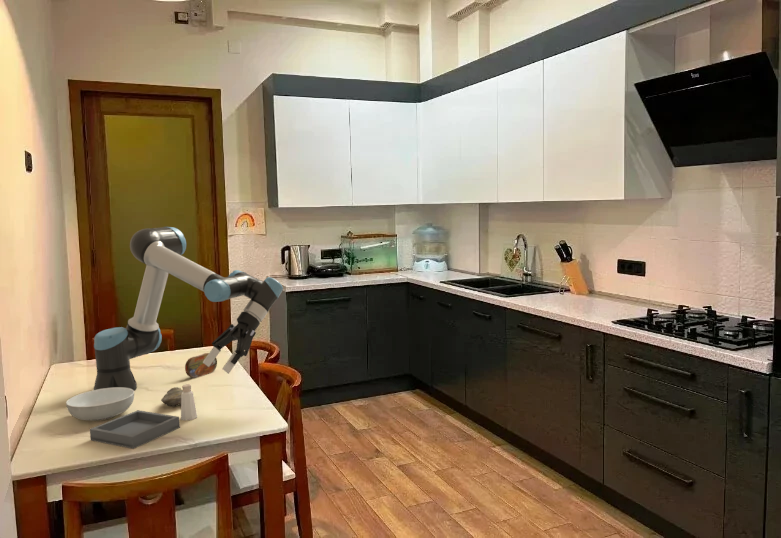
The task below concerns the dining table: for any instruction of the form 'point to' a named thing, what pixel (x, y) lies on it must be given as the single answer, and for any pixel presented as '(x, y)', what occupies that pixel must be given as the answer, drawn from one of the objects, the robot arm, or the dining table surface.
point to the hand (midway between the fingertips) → (215, 368)
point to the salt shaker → (187, 404)
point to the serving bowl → (100, 403)
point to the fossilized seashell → (172, 397)
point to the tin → (199, 366)
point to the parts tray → (134, 429)
